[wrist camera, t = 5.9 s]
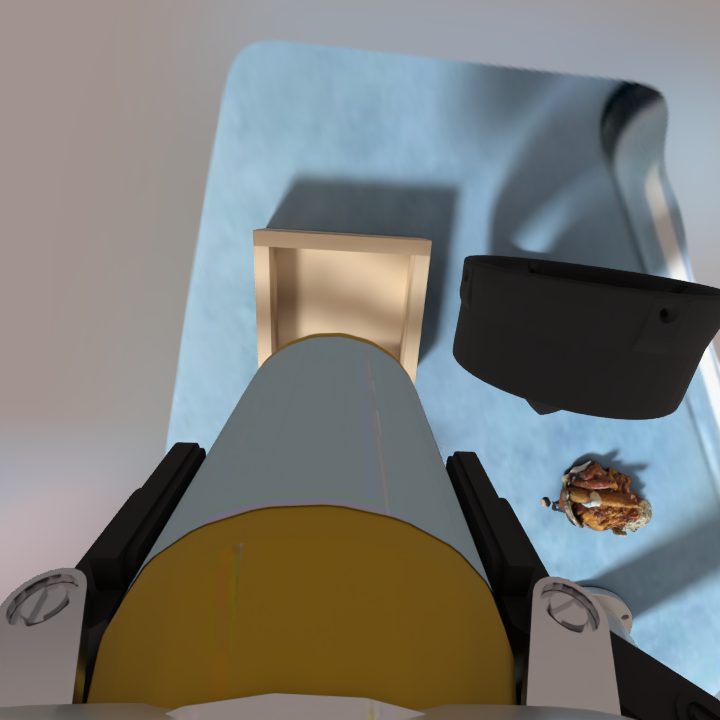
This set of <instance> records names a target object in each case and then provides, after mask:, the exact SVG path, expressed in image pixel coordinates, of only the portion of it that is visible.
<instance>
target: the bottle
mask: <svg viewBox="0 0 720 720" xmlns="http://www.w3.org/2000/svg"><path fill="white" fill-rule="evenodd" d="M95 703H146V704H149V705H152V706H156V707H161V708H168V709H175V710H173V711H170V712H168V713H165V714H168V715H170V716H172V717H174V718H176V719H178V720H404V719H408V718H412V717H416V716H420V715H424V714H425V713H422V712H418V711H417V710H422V709H428V708H433V707H438V706H443V705H448V704H489V705H517V702H516V684H515V666H514V657H513V654H512V651H511V647H510V644H509V641H508V638H507V635H506V632H505V628H504V626H503V623H502V620H501V617H500V614H499V610H498V607H497V604H496V601H495V598H494V594H493V591H492V589H491V586H490V584H489V581H488V578H487V576H486V573H485V570H484V568H483V565H482V562H481V560H480V557H479V555H478V552H477V549H476V547H475V544H474V541H473V539H472V536H471V534H470V531H469V528H468V526H467V523H466V520H465V518H464V515H463V513H462V510H461V507H460V505H459V502H458V499H457V497H456V494H455V491H454V489H453V486H452V484H451V481H450V478H449V476H448V473H447V470H446V468H445V465H444V463H443V460H442V457H441V455H440V452H439V449H438V447H437V444H436V441H435V439H434V436H433V434H432V431H431V428H430V426H429V423H428V420H427V418H426V415H425V413H424V410H423V407H422V405H421V402H420V399H419V397H418V394H417V392H416V389H415V386H414V384H413V382H412V380H411V378H410V376H409V375H408V373H407V372H406V370H405V369H404V368H403V366H402V365H401V364H400V363H399V361H398V360H397V359H396V358H395V357H394V356H393V355H392V354H391V353H389V352H388V351H386V350H385V349H383V348H382V347H380V346H379V345H377V344H376V343H374V342H372V341H370V340H368V339H364V338H361V337H357V336H353V335H350V334H345V333H317V334H312V335H308V336H305V337H302V338H300V339H297V340H294V341H291V342H289V343H287V344H285V345H284V346H282V347H281V348H280V349H278V350H277V351H276V352H274V353H273V354H272V355H271V356H269V357H268V358H267V359H266V360H265V361H264V362H263V364H262V366H261V367H260V368H259V369H258V371H257V373H256V374H255V376H254V377H253V379H252V380H251V382H250V383H249V385H248V387H247V388H246V390H245V392H244V394H243V395H242V397H241V399H240V400H239V402H238V404H237V405H236V407H235V409H234V410H233V412H232V414H231V416H230V417H229V419H228V421H227V422H226V424H225V426H224V427H223V429H222V431H221V432H220V434H219V436H218V438H217V439H216V441H215V443H214V444H213V446H212V448H211V449H210V451H209V453H208V454H207V456H206V458H205V460H204V461H203V463H202V465H201V466H200V468H199V470H198V471H197V473H196V475H195V477H194V478H193V480H192V482H191V483H190V485H189V487H188V488H187V490H186V492H185V493H184V495H183V497H182V499H181V500H180V502H179V504H178V505H177V507H176V509H175V510H174V512H173V514H172V515H171V517H170V519H169V521H168V522H167V524H166V526H165V527H164V529H163V531H162V532H161V534H160V536H159V537H158V539H157V541H156V543H155V544H154V546H153V548H152V549H151V551H150V553H149V554H148V556H147V558H146V560H145V561H144V563H143V565H142V566H141V568H140V570H139V571H138V573H137V575H136V576H135V578H134V580H133V582H132V583H131V585H130V587H129V588H128V590H127V592H126V593H125V595H124V597H123V600H122V602H121V605H120V607H119V609H118V610H117V612H116V614H115V615H114V617H113V619H112V621H111V622H110V624H109V626H108V627H107V629H106V631H105V632H104V634H103V637H102V640H101V643H100V646H99V650H98V654H97V659H96V663H95V668H94V672H93V677H92V681H91V685H90V690H89V694H88V699H87V703H86V704H95Z"/></svg>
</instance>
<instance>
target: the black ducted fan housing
mask: <svg viewBox="0 0 720 720" xmlns="http://www.w3.org/2000/svg"><path fill="white" fill-rule="evenodd" d="M531 268H532V272H531V273H530V272H529V270H530V269H531ZM460 298H461V307H460V312H459V317H458V323H457V328H456V333H455V338H454V344H453V355H454V357H455V359H456V361H457V362H458V363H459V364H460V365H461V366H462V367H463V368H464V369H465V370H467V371H468V372H469V373H471V374H472V375H474V376H475V377H477V378H479V379H480V380H482V381H484V382H486V383H488V384H490V385H492V386H494V387H496V388H498V389H501V390H503V391H505V392H508V393H510V394H513V395H515V396H518V397H521V398H524V399H526V401H527V402H528V403H529V405H530V406H531V407H532V408H533V409H534V410H535V411H536V412H537V413H538V414H540V415H544V414H550V413H553V412H557V411H559V410H565V411H570V412H574V413H579V414H585V415H591V416H597V417H604V418H613V419H626V420H645V419H655V418H660V417H664V416H667V415H669V414H671V413H673V412H674V411H676V410H677V408H678V406H679V405H680V403H681V401H682V399H683V397H684V395H685V393H686V391H687V388H688V386H689V384H690V382H691V380H692V377H693V375H694V373H695V371H696V369H697V366H698V364H699V362H700V360H701V358H702V355H703V353H704V351H705V349H706V348H707V346H708V345H709V343H710V342H711V340H712V339H713V338H714V336H715V335H716V333H717V332H718V330H719V329H720V289H718V288H714V287H710V286H706V285H701V284H696V283H691V282H686V281H681V280H676V279H671V278H665V277H659V276H653V275H648V274H641V273H635V272H629V271H622V270H616V269H609V268H602V267H595V266H588V265H580V264H572V263H564V262H556V261H547V260H538V259H529V258H517V257H505V256H488V255H475V256H468V257H466V258H465V260H464V266H463V274H462V281H461V287H460Z"/></svg>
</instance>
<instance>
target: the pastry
mask: <svg viewBox="0 0 720 720" xmlns="http://www.w3.org/2000/svg"><path fill="white" fill-rule="evenodd" d="M630 481H631V476H625V475H623V474H622V473H620V472H618V471H617V470H615V469H611V468H609V472H605V471H604V470H602V468H601V466H600V465H599V464H598V463H596V462H594V461H589V462H587V463H585V464H583V465H582V466H577V467H574V468H573V469H572V470H571V472H570V473H569V474H567V475H564V477H563V478H562V483H563V487H562V490H561V495H560V497H561V498H560V500H558V501H559V504H557V503H553V505H552V509H553V510H554V511H557V510H558V511H560V512H564V513H566V515H567V517H568V519H569V521H570V522H571V523H572V524H573V525H575V526H579V527H581V528H583V526H585V527H588V528H590V529H593V530H597V531H604V530H608V529H611V530H613V533H614V534H616V535H619V536H622V537H625V536H627V533H626V532H625V530H626V529H628V530H631V531H632V532H635V531H637V529H638V528H640V527H641V528H643V527H645V526H646V525H645V524H647V523H648V522H649V521H650V519H651V516H652V513H651V512H650V511H649V510H650V509H651V508H652V507H651V506H650V505H649V504H648V502H647V501H646V500H644V501H642V500H641V499H640V497H639V496H638V494H637V493H635V492H634V491H632V490H630V488H629V487H630ZM552 502H553V501H552ZM541 504H542V506H544V507H549V506H550V504H551V502H550V500H549V498H547V497H544V498H542V500H541ZM556 506H558V507H559V508H558V509H557V508H556Z"/></svg>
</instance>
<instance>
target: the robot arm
mask: <svg viewBox="0 0 720 720" xmlns="http://www.w3.org/2000/svg"><path fill="white" fill-rule="evenodd" d="M205 458H206V452H205V449H204V448H200V447H199V445H198V443H183V442H178V443H176V444H174V446H173V447H172V448H171V450H170V451H169V452H168V454H167V455H166V456H165V458H164V459H163V460H162V461H161V463H160V464H159V465H158V467H157V468H156V469H155V471H154V472H153V473H152V475H151V476H150V477H149V479H148V480H147V481H146V483H145V484H144V485H143V486H142V488H139V489H137V490H136V491H135V492H134V493H133V494H132V495H131V496H130V497H129V499H128V500H127V501H126V502H125V504H124V505H123V506H122V508H121V509H120V510H119V511H118V513H117V514H116V515H115V517H114V518H113V519H112V520H111V522H110V523H109V524H108V526H107V527H106V528H105V530H104V531H103V532H102V533H101V535H100V536H99V537H98V538H97V540H96V541H95V542H94V544H93V545H92V546H91V548H90V549H89V550H88V551H87V553H86V554H85V555H84V556H83V558H82V559H81V560H80V562H79V563H78V564H77V565H76V567H75V568H60V569H55V570H50V571H48V572H46V573H43V574H40V575H38V576H36V577H34V578H32V579H30V580H29V581H27V582H25V583H24V584H22V585H21V586H20V587H18V588H17V589H16V590H15V591H13V592H12V593H11V594H10V595H9V596H8V597H7V598H6V600H5V601H4V602H3V603H2V604H1V606H0V720H178V719H176V718H174V717H172V716H170V715H168V714H165V713H168V712H170V711H173V710H175V709H168V708H161V707H156V706H152V705H149V704H146V703H95V704H86V703H87V699H88V694H89V690H90V685H91V681H92V677H93V672H94V668H95V663H96V659H97V654H98V650H99V646H100V643H101V640H102V637H103V634H104V632H105V631H106V629H107V627H108V626H109V624H110V622H111V621H112V619H113V617H114V615H115V614H116V612H117V610H118V609H119V607H120V605H121V602H122V600H123V597H124V595H125V593H126V592H127V590H128V588H129V587H130V585H131V583H132V582H133V580H134V578H135V576H136V575H137V573H138V571H139V570H140V568H141V566H142V565H143V563H144V561H145V560H146V558H147V556H148V554H149V553H150V551H151V549H152V548H153V546H154V544H155V543H156V541H157V539H158V537H159V536H160V534H161V532H162V531H163V529H164V527H165V526H166V524H167V522H168V521H169V519H170V517H171V515H172V514H173V512H174V510H175V509H176V507H177V505H178V504H179V502H180V500H181V499H182V497H183V495H184V493H185V492H186V490H187V488H188V487H189V485H190V483H191V482H192V480H193V478H194V477H195V475H196V473H197V471H198V470H199V468H200V466H201V465H202V463H203V461H204V460H205ZM446 470H447V473H448V476H449V478H450V481H451V484H452V486H453V489H454V491H455V494H456V497H457V499H458V502H459V505H460V507H461V510H462V513H463V515H464V518H465V520H466V523H467V526H468V528H469V531H470V534H471V536H472V539H473V541H474V544H475V547H476V549H477V552H478V555H479V557H480V560H481V562H482V565H483V568H484V570H485V573H486V576H487V578H488V581H489V584H490V586H491V589H492V591H493V594H494V598H495V601H496V604H497V607H498V610H499V614H500V617H501V620H502V623H503V626H504V628H505V632H506V635H507V638H508V641H509V644H510V647H511V651H512V654H513V657H514V666H515V684H516V702H517V705H489V704H448V705H443V706H438V707H433V708H428V709H422V710H417V711H418V712H422V713H425V714H424V715H420V716H416V717H412V718H408V719H404V720H720V701H719V700H718V699H716V698H715V697H713V696H712V695H710V694H709V693H707V692H706V691H704V690H703V689H701V688H699V687H698V686H696V685H695V684H693V683H692V682H690V681H689V680H687V679H685V678H684V677H682V676H681V675H679V674H678V673H676V672H674V671H673V670H671V669H670V668H668V667H667V666H665V665H664V664H662V663H660V662H659V661H657V660H656V659H654V658H653V657H651V656H650V655H648V654H646V653H645V652H643V651H642V650H640V649H639V648H638V647H637V645H636V644H635V642H634V641H633V639H632V638H631V636H630V635H629V634H630V631H631V628H632V615H631V612H630V610H629V609H628V607H627V606H626V604H625V603H624V602H623V600H622V599H621V598H620V597H619V596H617V595H616V594H614V593H612V592H610V591H608V590H605V589H600V588H595V587H581V586H580V585H578V584H576V583H574V582H572V581H570V580H567V579H564V578H560V577H550V576H549V574H548V573H547V571H546V569H545V567H544V565H543V564H542V562H541V560H540V558H539V556H538V555H537V553H536V551H535V549H534V547H533V545H532V544H531V542H530V540H529V538H528V536H527V535H526V533H525V531H524V529H523V527H522V526H521V524H520V522H519V520H518V518H517V516H516V515H515V513H514V511H513V509H512V507H511V506H510V504H509V502H508V501H507V500H506V499H505V498H499V497H498V495H497V493H496V491H495V489H494V487H493V485H492V483H491V482H490V480H489V478H488V476H487V474H486V472H485V470H484V468H483V466H482V464H481V463H480V461H479V459H478V457H477V455H476V453H475V452H460V451H456V452H455V453H454V455H453V456H448V458H447V463H446Z"/></svg>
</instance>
